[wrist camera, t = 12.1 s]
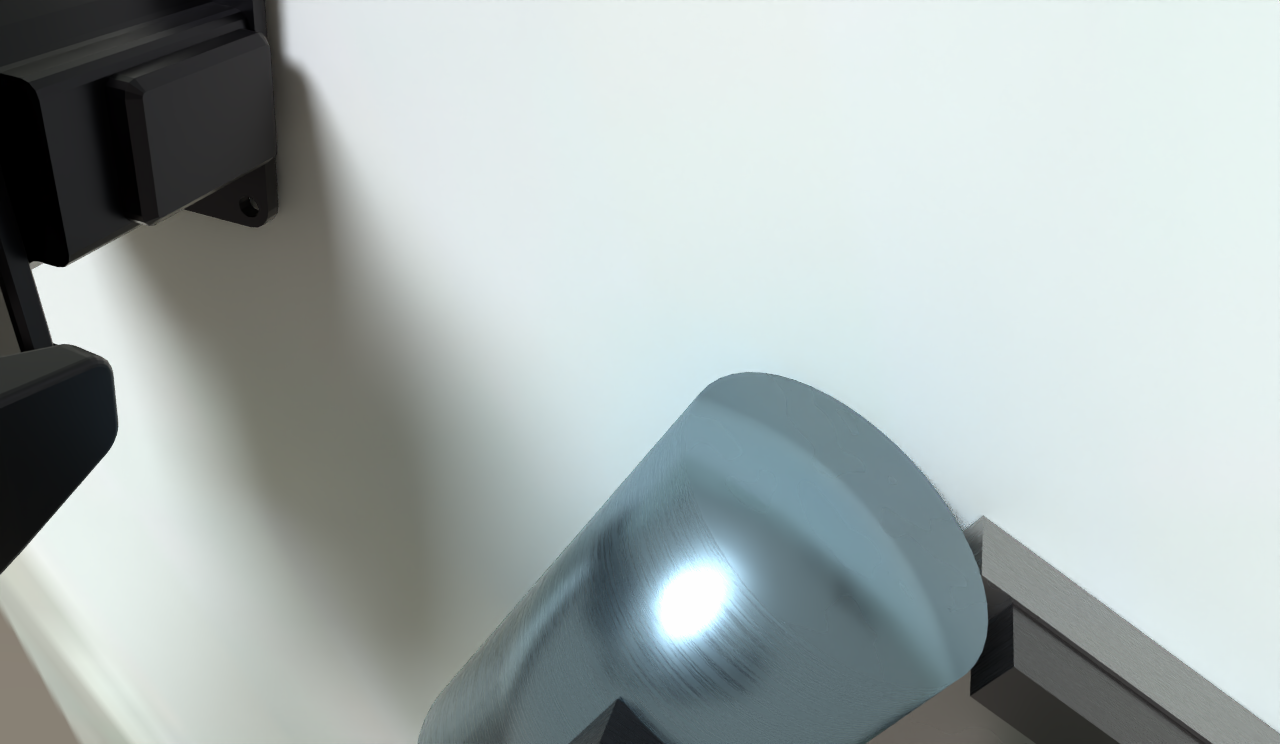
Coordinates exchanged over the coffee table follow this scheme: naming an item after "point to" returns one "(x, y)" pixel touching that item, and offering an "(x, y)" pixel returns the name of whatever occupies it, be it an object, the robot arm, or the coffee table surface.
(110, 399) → the robot arm
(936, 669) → the grey tray with cylinder
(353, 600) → the coffee table surface
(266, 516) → the coffee table surface
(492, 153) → the coffee table surface
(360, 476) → the coffee table surface
